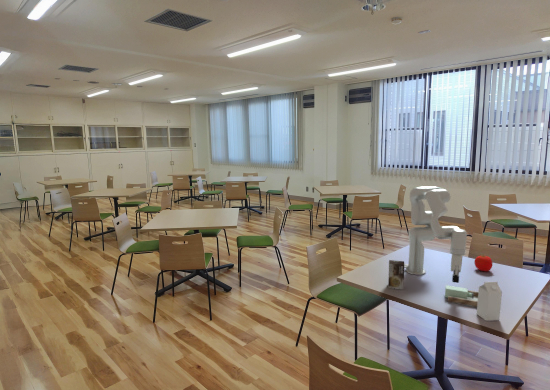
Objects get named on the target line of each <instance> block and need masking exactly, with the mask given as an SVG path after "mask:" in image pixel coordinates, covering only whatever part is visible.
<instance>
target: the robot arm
mask: <svg viewBox="0 0 550 390" xmlns="http://www.w3.org/2000/svg"><path fill="white" fill-rule="evenodd" d="M409 199H410V200H409V201H410V207H411V209H410V221H411V223H412V225H413V226H414V227H411V228H410V229H409V230H408V241H409V247H408V250H409V251H408V263H404V269H405V271H406V273H408V274H411V275H417V276H423V275H425V274H426V270H425V268H424V263H425V262H424V261H425V245H424V244H423V243H422V242H426V241H427V242H428V241H429V242H430V241H433V240H435V239H438V240H450V250H449V253H450V254H451V260H450V261H451V262H450V271H451V272H452V278H451V279H452V280H451V281H452V283H460V273H461V272H462V267H463V257H464V256H466V251H467V250H466V249H467V236H468V232H467V230H465V229H461V228H460V227H458V226H457V225H443V226H441V224H440V222H439V218H440V217H442V216H445V215H446V214H447V213H448V207H447V205H446V204H445V203H449V202H450V201H451V194H450V192H449V191H448V190H447V189H444V188H443V187H438V186H417V187H413V188H411V190H410V191H409ZM424 200H426V202H427V204H428V206H429V208H430V210H426V205H425V203H424ZM415 226H416V227H415Z"/></svg>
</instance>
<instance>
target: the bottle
mask: <svg viewBox="0 0 550 390" xmlns="http://www.w3.org/2000/svg"><path fill="white" fill-rule="evenodd" d="M468 290H469V289H468V288H465V287H461V286H460V287H459V286H453V285H448V284H445V289H444V297H445V298H448V296H451V297H457V298H463V299H467V297H470V298H472V299H473V296H474V293H468Z"/></svg>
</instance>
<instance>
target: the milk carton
mask: <svg viewBox="0 0 550 390" xmlns="http://www.w3.org/2000/svg"><path fill="white" fill-rule="evenodd" d="M477 292H478V303H477V307H476V315H478V316H479V317H480V318H482V319H483V320H484V321H487V322H489V321H490V322H491V321H493V322H494V321H500V317H501V316H500V315H501V308H502V307H501V305H502V297H503V296H502V295H503V292H502V289H501V288H500V286H499V284H498V281H485V282H483V284H482V285H480V286H478V291H477Z"/></svg>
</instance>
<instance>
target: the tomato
mask: <svg viewBox="0 0 550 390" xmlns="http://www.w3.org/2000/svg"><path fill="white" fill-rule="evenodd" d="M474 266H475V268H476V269H477V270H479V271H480V272H489V271H491V269H492V268H493V261H492V258H491V257H490V256H487V255H484V254H483V255H478V256H476V257H475V259H474Z"/></svg>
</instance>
